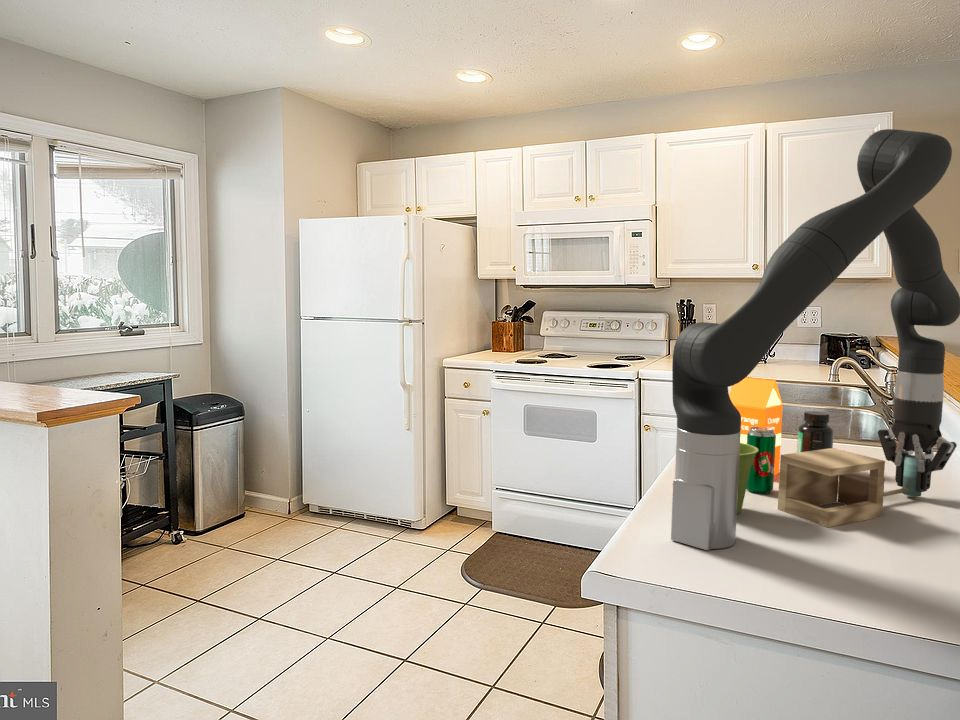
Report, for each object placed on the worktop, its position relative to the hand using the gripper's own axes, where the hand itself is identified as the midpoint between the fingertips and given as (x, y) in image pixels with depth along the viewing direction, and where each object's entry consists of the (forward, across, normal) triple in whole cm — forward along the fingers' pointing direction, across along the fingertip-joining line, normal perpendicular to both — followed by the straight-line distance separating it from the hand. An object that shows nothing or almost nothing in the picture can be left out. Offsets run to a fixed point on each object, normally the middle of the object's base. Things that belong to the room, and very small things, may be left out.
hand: (911, 488), depth 128 cm
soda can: (+2, +14, +23) cm, 27 cm away
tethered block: (+1, 0, +7) cm, 8 cm away
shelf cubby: (+2, 0, +22) cm, 22 cm away
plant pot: (+2, +9, +38) cm, 39 cm away
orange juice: (+2, +25, +14) cm, 29 cm away
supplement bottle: (+2, +22, -1) cm, 22 cm away
